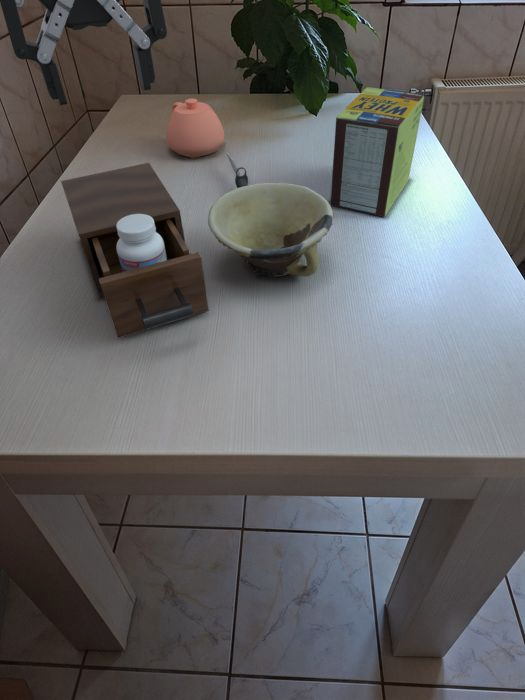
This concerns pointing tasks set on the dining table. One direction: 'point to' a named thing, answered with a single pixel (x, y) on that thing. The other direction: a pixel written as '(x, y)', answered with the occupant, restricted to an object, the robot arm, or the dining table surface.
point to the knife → (238, 174)
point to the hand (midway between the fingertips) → (104, 95)
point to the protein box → (374, 149)
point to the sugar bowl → (194, 129)
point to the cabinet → (116, 205)
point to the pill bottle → (139, 242)
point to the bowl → (272, 226)
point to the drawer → (151, 283)
